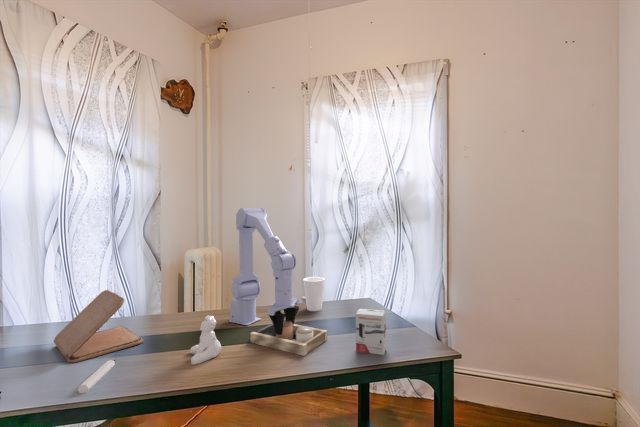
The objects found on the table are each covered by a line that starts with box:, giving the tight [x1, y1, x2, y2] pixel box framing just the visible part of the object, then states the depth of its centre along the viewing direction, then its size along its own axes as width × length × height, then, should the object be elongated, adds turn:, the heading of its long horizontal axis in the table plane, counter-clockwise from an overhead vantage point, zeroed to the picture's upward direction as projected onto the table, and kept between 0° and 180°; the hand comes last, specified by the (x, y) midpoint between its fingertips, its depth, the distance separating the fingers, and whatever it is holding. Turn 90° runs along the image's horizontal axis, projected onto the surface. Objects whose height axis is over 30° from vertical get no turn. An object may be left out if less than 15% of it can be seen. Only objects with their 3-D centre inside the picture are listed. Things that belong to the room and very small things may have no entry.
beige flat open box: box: [250, 323, 329, 356], centre depth 108 cm, size 21×14×3 cm
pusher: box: [256, 322, 276, 336], centre depth 113 cm, size 4×10×4 cm, turn 150°
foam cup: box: [302, 276, 326, 312], centre depth 143 cm, size 10×9×13 cm
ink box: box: [355, 308, 387, 356], centre depth 100 cm, size 8×5×12 cm, turn 72°
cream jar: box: [295, 325, 313, 343], centre depth 105 cm, size 6×6×5 cm
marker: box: [77, 359, 116, 394], centre depth 86 cm, size 3×2×16 cm
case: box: [53, 289, 144, 364], centre depth 107 cm, size 20×21×16 cm
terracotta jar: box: [275, 319, 294, 340], centre depth 109 cm, size 6×6×5 cm
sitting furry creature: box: [189, 314, 222, 366], centre depth 98 cm, size 10×9×12 cm
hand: (284, 331), depth 109 cm, fingers closed on terracotta jar, 5 cm apart
